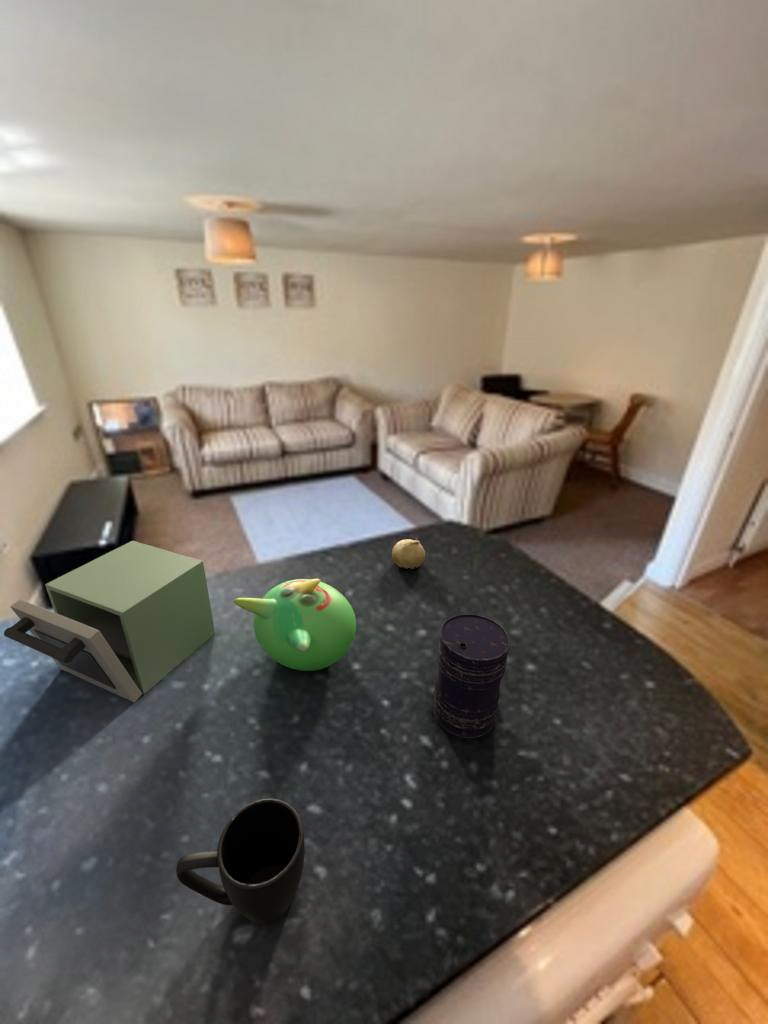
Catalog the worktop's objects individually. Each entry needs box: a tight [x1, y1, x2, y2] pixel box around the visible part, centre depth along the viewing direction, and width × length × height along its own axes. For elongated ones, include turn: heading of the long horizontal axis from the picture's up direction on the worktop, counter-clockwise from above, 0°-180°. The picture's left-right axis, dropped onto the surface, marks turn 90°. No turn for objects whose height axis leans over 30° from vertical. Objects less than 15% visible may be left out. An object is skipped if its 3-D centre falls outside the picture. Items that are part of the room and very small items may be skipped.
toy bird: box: [233, 578, 357, 672], centre depth 77 cm, size 18×17×15 cm
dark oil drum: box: [432, 613, 510, 739], centre depth 67 cm, size 10×10×15 cm
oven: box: [44, 540, 216, 695], centre depth 77 cm, size 16×17×16 cm
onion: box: [391, 536, 426, 570], centre depth 107 cm, size 8×8×7 cm
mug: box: [175, 798, 306, 926], centre depth 45 cm, size 8×12×10 cm
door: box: [3, 598, 143, 703], centre depth 67 cm, size 5×17×16 cm, turn 67°
